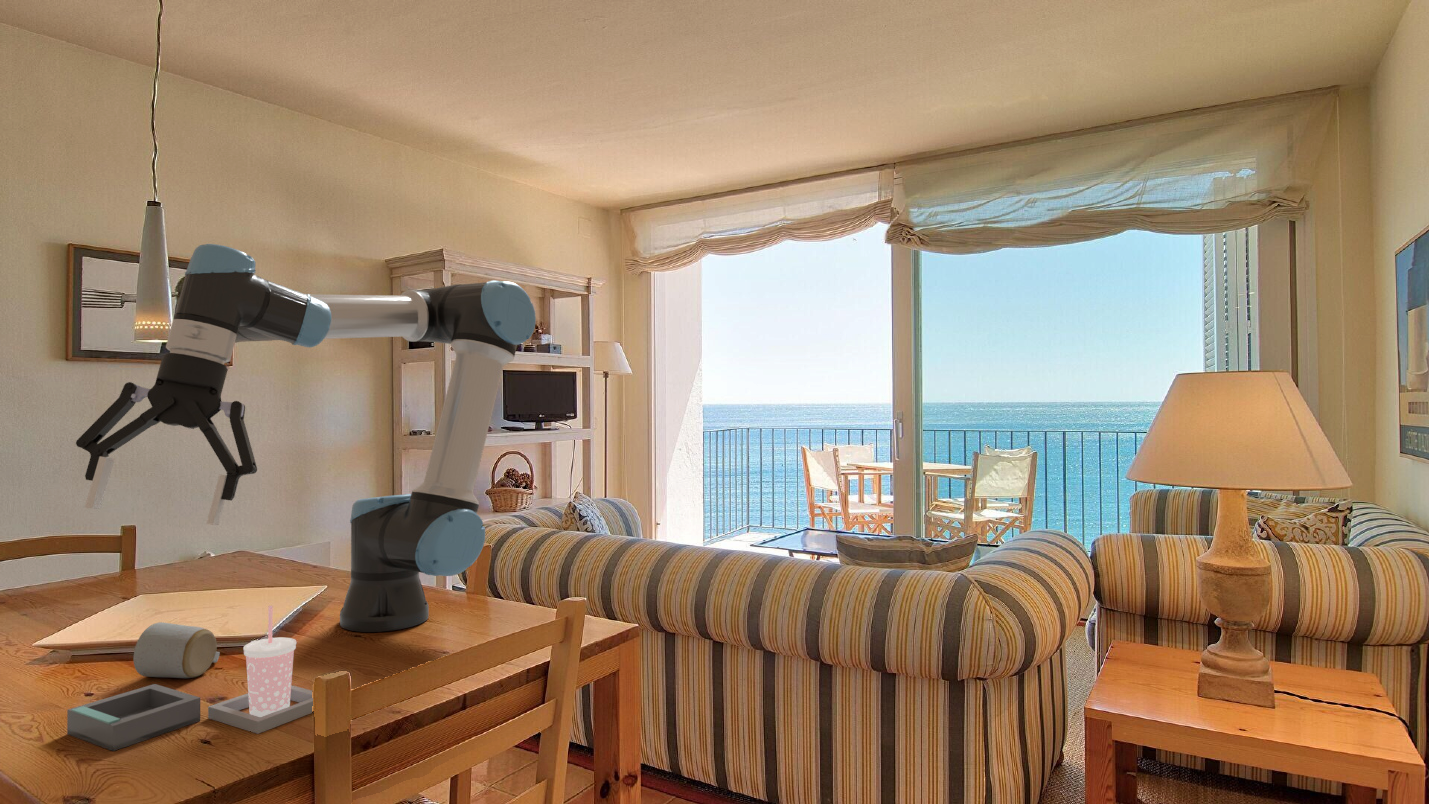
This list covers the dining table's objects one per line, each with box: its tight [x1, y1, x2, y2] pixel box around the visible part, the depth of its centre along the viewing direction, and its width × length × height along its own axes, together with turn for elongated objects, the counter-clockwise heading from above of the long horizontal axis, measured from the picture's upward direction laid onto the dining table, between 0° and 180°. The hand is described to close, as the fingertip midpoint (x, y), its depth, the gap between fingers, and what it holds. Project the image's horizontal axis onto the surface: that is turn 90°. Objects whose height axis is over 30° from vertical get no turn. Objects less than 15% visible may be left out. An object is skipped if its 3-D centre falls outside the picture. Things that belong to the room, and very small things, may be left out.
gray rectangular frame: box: [207, 684, 313, 735], centre depth 107 cm, size 10×10×2 cm
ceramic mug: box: [133, 621, 220, 679], centre depth 121 cm, size 11×8×8 cm
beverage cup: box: [243, 605, 297, 717], centre depth 106 cm, size 6×6×14 cm
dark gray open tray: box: [66, 683, 201, 752], centre depth 101 cm, size 10×10×3 cm
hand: (153, 516), depth 105 cm, fingers open, 13 cm apart
